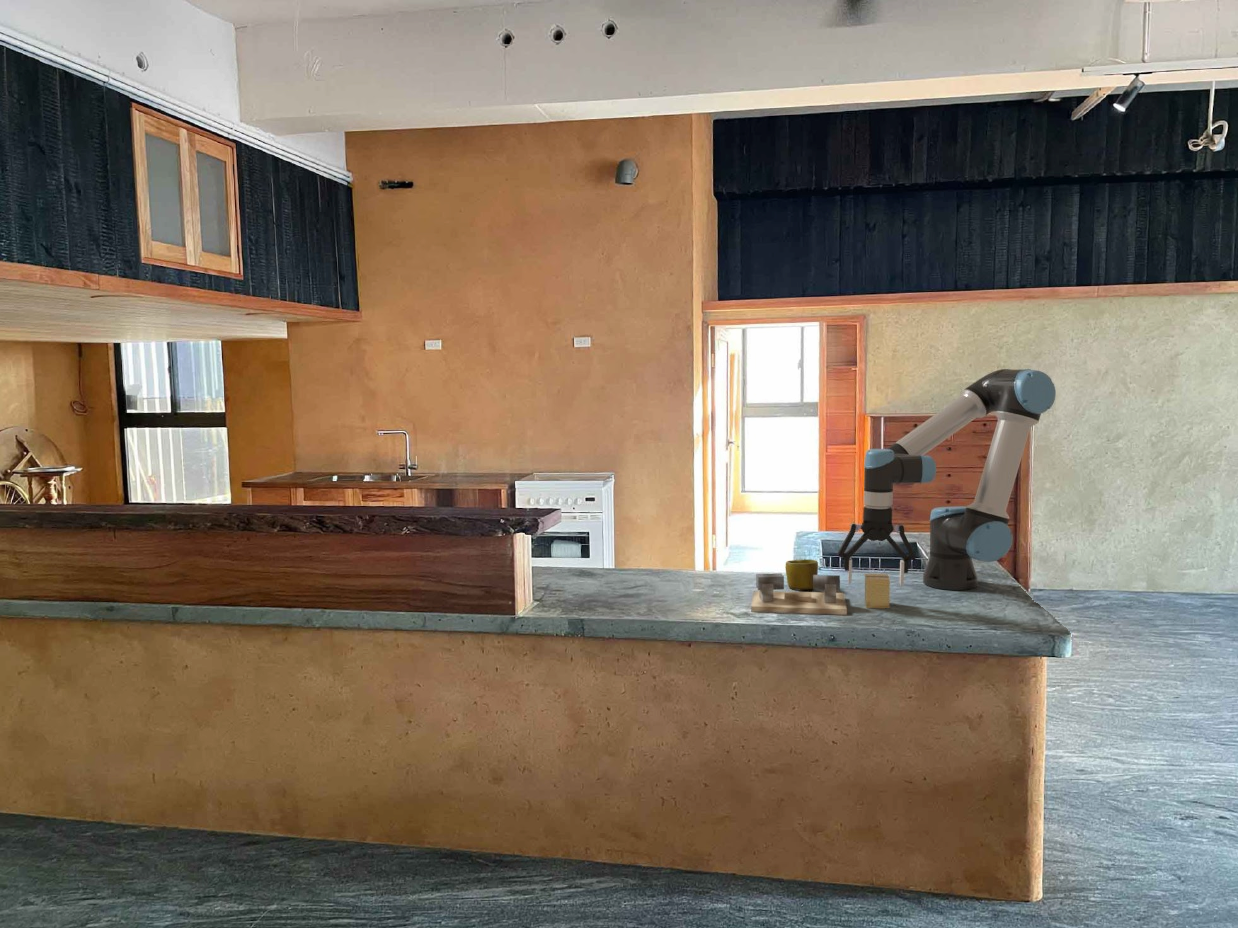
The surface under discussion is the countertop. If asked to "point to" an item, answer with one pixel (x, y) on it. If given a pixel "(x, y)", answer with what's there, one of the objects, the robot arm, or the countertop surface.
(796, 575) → the mug
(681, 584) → the countertop surface
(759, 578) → the shaft rig
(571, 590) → the countertop surface
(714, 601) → the countertop surface
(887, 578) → the tan cardboard block
